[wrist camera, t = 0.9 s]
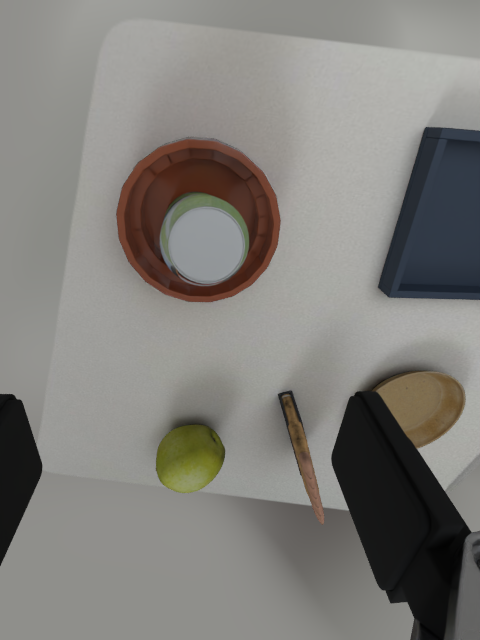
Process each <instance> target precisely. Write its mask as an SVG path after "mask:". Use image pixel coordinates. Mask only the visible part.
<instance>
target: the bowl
mask: <svg viewBox="0 0 480 640" xmlns="http://www.w3.org/2000/svg"><path fill="white" fill-rule="evenodd" d="M188 192H203V193H207V194H209V195H212V196H215V197H217V198H220V199H222V200H224V201H226V202H228V203H229V204H230V205H232V206H233V207H234V208H235V209H236V210H237V211H238V212H239V213H240V215H241V216H242V218H243V219H244V222H245V224H246V226H247V230H248V234H249V249H248V253H247V257H246V259H245V261H244V263H243V265H242V266H241V268H240V269H239V271H238V272H237V273H236V274H235V275H234V276H232V277H231V278H230V279H228V280H226V281H224V282H223V283H220V284H217V285H212V286H198V285H193V284H190V283H188V282H185V281H184V280H182V279H180V278H179V277H177V276H176V275H175V274H174V273H173V272H172V271H171V270H170V269H169V267H168V266H167V264H166V262H165V261H164V258H163V256H162V253H161V248H160V232H161V227H162V224H163V220H164V216H165V213H166V211H167V209H168V207H169V205H170V204H171V203H172V202H173V200H175V199H176V198H177V197H179V196H181V195H182V194H185V193H188ZM116 216H117V225H118V235H119V240H120V243H121V245H122V247H123V250H124V252H125V254H126V256H127V259H128V261H129V262H130V264H131V265H132V266H133V268H134V269H135V270H136V271H137V272H138V273H139V275H140V276H141V277H142V278H143V279H144V280H145V281H146V282H147V283H149V284H150V285H152V286H153V287H155V288H156V289H158V290H159V291H161V292H162V293H164V294H166V295H168V296H172V297H175V298H178V299H181V300H185V301H188V302H213V301H217V300H221V299H224V298H228V297H232V296H234V295H236V294H237V293H239V292H241V291H242V290H244V289H246V288H247V287H249V286H250V285H252V284H253V283H254V282H255V281H256V280H257V279H258V277H259V276H260V275H261V274H262V273H263V272H264V271H265V270H266V269H267V267H268V265H269V263H270V261H271V259H272V257H273V255H274V252H275V250H276V248H277V245H278V238H279V230H280V223H281V222H280V221H281V220H280V215H279V209H278V204H277V198H276V195H275V193H274V191H273V189H272V187H271V186H270V184H269V182H268V180H267V178H266V176H265V174H264V173H263V171H262V170H260V169H259V168H258V167H257V166H256V165H255V164H254V163H253V162H252V161H251V160H250V159H249V158H248V157H247V156H246V155H245V154H243V153H242V152H241V151H239V150H238V149H236V148H234V147H232V146H230V145H228V144H225V143H223V142H221V141H219V140H217V139H213V138H201V137H186V138H183V139H179V140H176V141H172V142H169V143H166V144H164V145H162V146H160V147H159V148H157V149H156V150H155V151H153V152H152V153H151V154H149V155H148V156H147V157H145V158H144V159H143V160H141V161H140V162H139V163H138V164H137V165H136V166H135V168H134V169H133V171H132V172H131V174H130V176H129V177H128V179H127V180H126V182H125V183H124V185H123V187H122V190H121V195H120V199H119V203H118V208H117V212H116Z"/></svg>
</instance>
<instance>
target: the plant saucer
mask: <svg viewBox="0 0 480 640" xmlns="http://www.w3.org/2000/svg"><path fill="white" fill-rule="evenodd" d="M372 391H376V392H378V393H379V394H380V396H381V397H382V399H383V400H384V402H385V403H386V405H387V407H388V408H389V410H390V411H391V413H392V414H393V416H394V417H395V419H396V420H397V422H398V423H399V425H400V427H401V428H402V430H403V431H404V433H405V434H406V436H407V437H408V438H409V439H410V440H411V441H412V442H413V444H414V445H415V447H416V449H417V448H420V447H423V446H425V445H427V444H430V443H431V442H433V441H435V440H437V439H438V438H440V437H441V436H442V435H444V434H445V433H446V432H447V431H449V430H450V429H451V428H452V427H453V426H454V424H455V423H456V422H457V421H458V419H459V418H460V416H461V414H462V412H463V409H464V406H465V400H466V397H465V392H464V389H463V387H462V385H461V384H460V383H459V381H457V380H456V379H455V378H453V377H452V376H450V375H448V374H445V373H441V372H435V371H411V372H406V373H402V374H398V375H395V376H393V377H391V378H388V379H387V380H385V381H383V382H382V383H380V384H379V385H377V386H376V387H375V388H374V389H373V390H372Z"/></svg>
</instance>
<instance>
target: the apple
mask: <svg viewBox="0 0 480 640" xmlns="http://www.w3.org/2000/svg"><path fill="white" fill-rule="evenodd" d="M224 458H225V448H224V446H223V444H222V442H221V440H220V438H219V436H218V435H217V433H216V432H215V431H214V430H213V429H211V428H209V427H208V426H204V425H185V426H181V427H178V428H176V429H174V430H172V431H171V432H169V433H168V434H167V435H166V436H165V437H164V438H163V440H162V441H161V443H160V445H159V447H158V450H157V458H156V471H157V474H158V477H159V479H160V481H161V483H162V484H163V485H164V486H166V487H167V488H169V489H171V490H174V491H176V492H180V493H189V492H194V491H198V490H200V489H202V488H203V487H205V486H206V485H207V484H209V483H210V482H211V481H212V480H213V479H214V478H215V477H216V475H217V474H218V472H219V471H220V469H221V467H222V465H223V462H224Z"/></svg>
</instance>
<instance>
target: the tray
mask: <svg viewBox="0 0 480 640" xmlns="http://www.w3.org/2000/svg"><path fill="white" fill-rule="evenodd" d="M378 288H379V289H380V290H381V291H382V292H383V293H384V294H386V295H387V296H388V297H391V298H430V299H470V300H480V131H475V130H464V129H453V128H437V127H426V128H425V130H424V134H423V137H422V141H421V144H420V147H419V151H418V154H417V157H416V161H415V164H414V167H413V171H412V174H411V178H410V181H409V184H408V188H407V191H406V194H405V198H404V201H403V205H402V208H401V211H400V215H399V218H398V221H397V225H396V228H395V231H394V235H393V238H392V242H391V245H390V248H389V252H388V255H387V258H386V262H385V265H384V268H383V272H382V275H381V279H380V282H379V285H378Z"/></svg>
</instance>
